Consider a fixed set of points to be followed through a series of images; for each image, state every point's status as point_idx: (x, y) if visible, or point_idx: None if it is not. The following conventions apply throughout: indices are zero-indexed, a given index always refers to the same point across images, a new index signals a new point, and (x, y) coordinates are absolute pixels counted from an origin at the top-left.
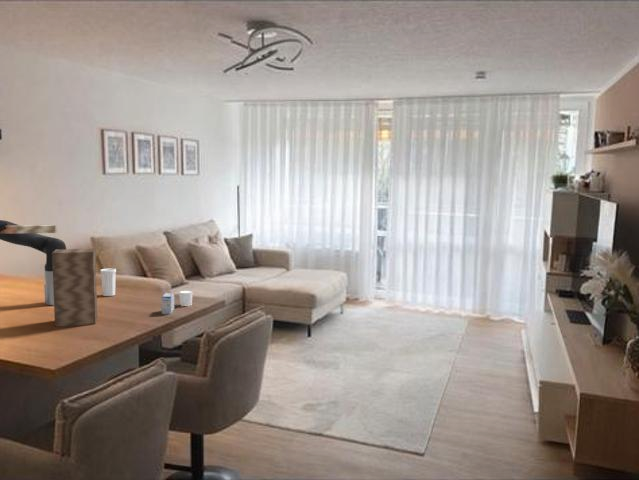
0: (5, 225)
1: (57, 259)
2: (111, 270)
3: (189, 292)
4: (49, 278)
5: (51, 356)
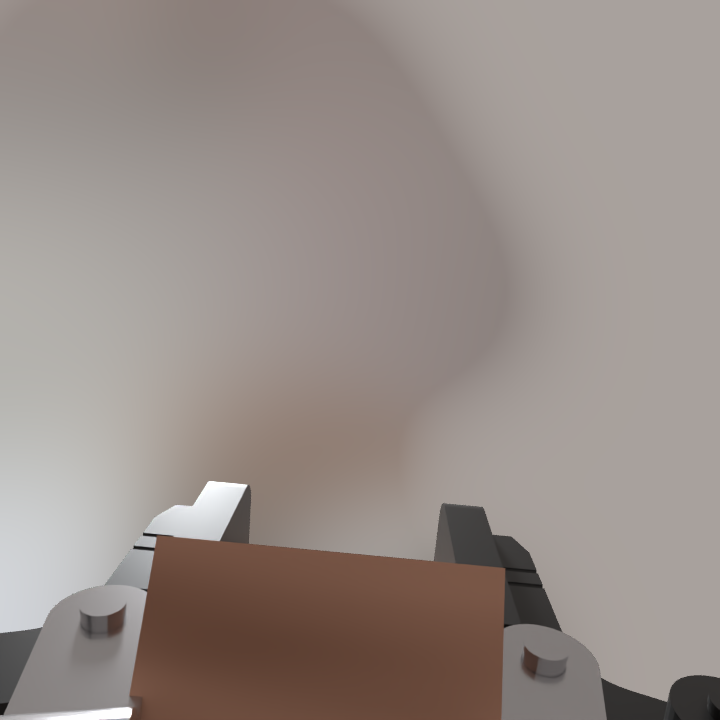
0: (238, 540)
1: None
2: None
3: None
4: None
5: None
